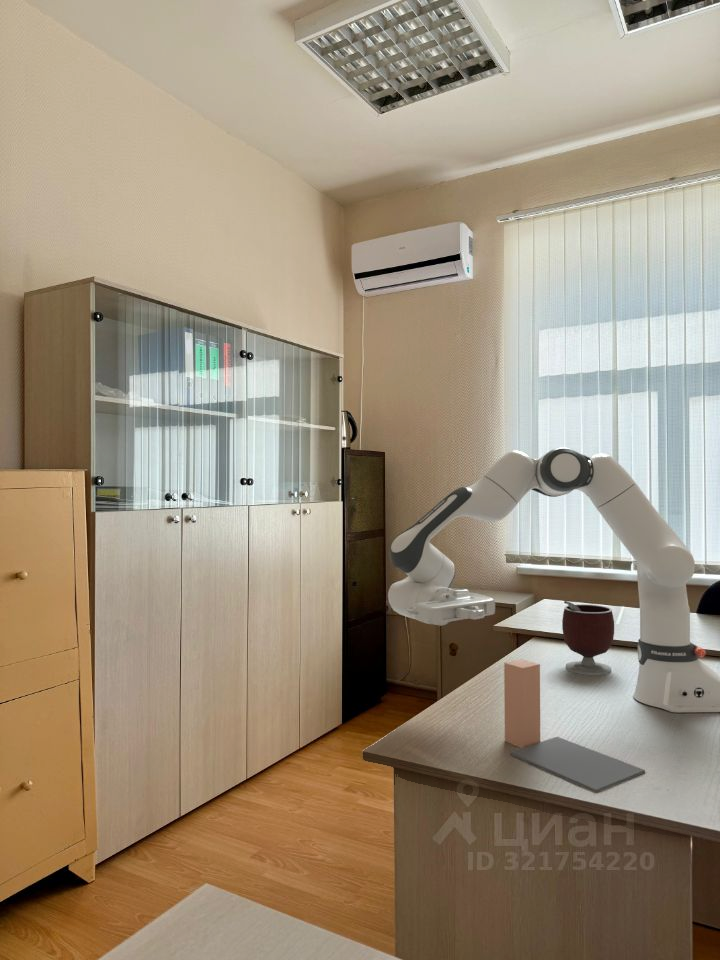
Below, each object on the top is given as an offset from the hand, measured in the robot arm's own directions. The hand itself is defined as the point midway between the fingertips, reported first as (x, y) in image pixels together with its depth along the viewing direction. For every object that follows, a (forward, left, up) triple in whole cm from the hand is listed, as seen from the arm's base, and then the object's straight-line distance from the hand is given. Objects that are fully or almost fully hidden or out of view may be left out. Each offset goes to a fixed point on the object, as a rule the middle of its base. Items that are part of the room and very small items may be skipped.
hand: (479, 614), depth 151 cm
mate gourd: (-29, -49, -24) cm, 62 cm away
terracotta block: (-9, +9, -24) cm, 27 cm away
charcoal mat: (-18, +18, -24) cm, 35 cm away
